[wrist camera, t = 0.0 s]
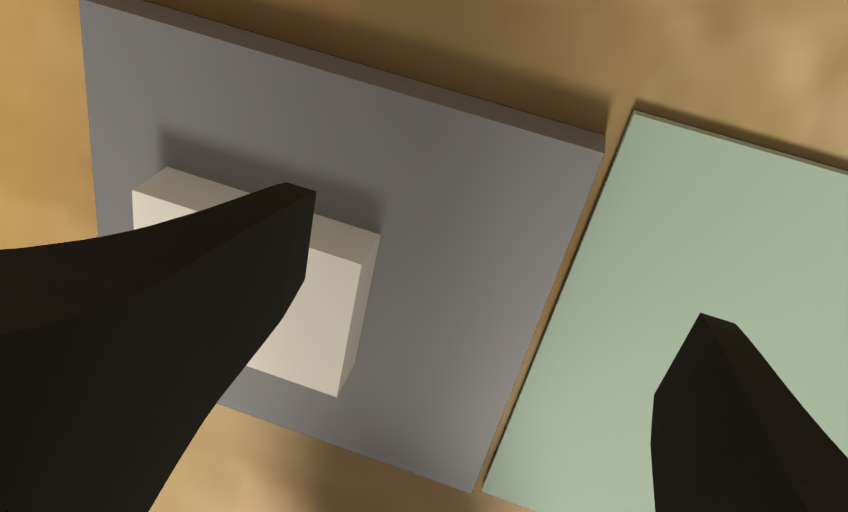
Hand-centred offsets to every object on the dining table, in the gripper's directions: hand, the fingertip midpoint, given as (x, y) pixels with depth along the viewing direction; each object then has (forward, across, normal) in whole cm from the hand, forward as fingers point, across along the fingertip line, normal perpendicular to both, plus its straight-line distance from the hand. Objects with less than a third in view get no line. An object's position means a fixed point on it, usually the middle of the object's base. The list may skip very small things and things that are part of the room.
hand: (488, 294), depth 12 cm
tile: (+8, +8, +8) cm, 14 cm away
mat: (+10, -10, +8) cm, 16 cm away
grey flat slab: (+10, +6, +8) cm, 14 cm away
